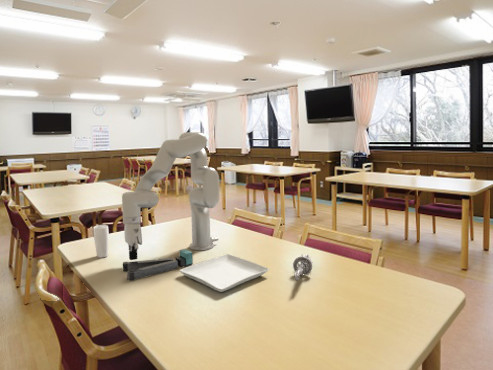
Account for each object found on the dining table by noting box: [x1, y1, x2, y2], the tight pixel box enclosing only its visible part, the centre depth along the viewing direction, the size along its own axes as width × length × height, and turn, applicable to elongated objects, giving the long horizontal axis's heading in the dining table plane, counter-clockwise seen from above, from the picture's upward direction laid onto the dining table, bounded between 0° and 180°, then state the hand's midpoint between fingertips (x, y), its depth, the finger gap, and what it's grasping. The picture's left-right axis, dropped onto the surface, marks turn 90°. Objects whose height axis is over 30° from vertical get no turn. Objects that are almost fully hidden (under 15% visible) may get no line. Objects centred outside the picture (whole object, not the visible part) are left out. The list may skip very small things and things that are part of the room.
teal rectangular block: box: [178, 248, 194, 265], centre depth 159 cm, size 3×7×5 cm, turn 38°
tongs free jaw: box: [122, 257, 174, 272], centre depth 155 cm, size 22×3×3 cm, turn 106°
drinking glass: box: [92, 224, 110, 259], centre depth 169 cm, size 7×7×15 cm
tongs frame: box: [126, 255, 194, 282], centre depth 151 cm, size 29×6×3 cm, turn 128°
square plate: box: [179, 253, 270, 293], centre depth 145 cm, size 27×27×4 cm
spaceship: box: [292, 253, 313, 281], centre depth 145 cm, size 8×35×8 cm
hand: (133, 259), depth 158 cm, fingers closed
